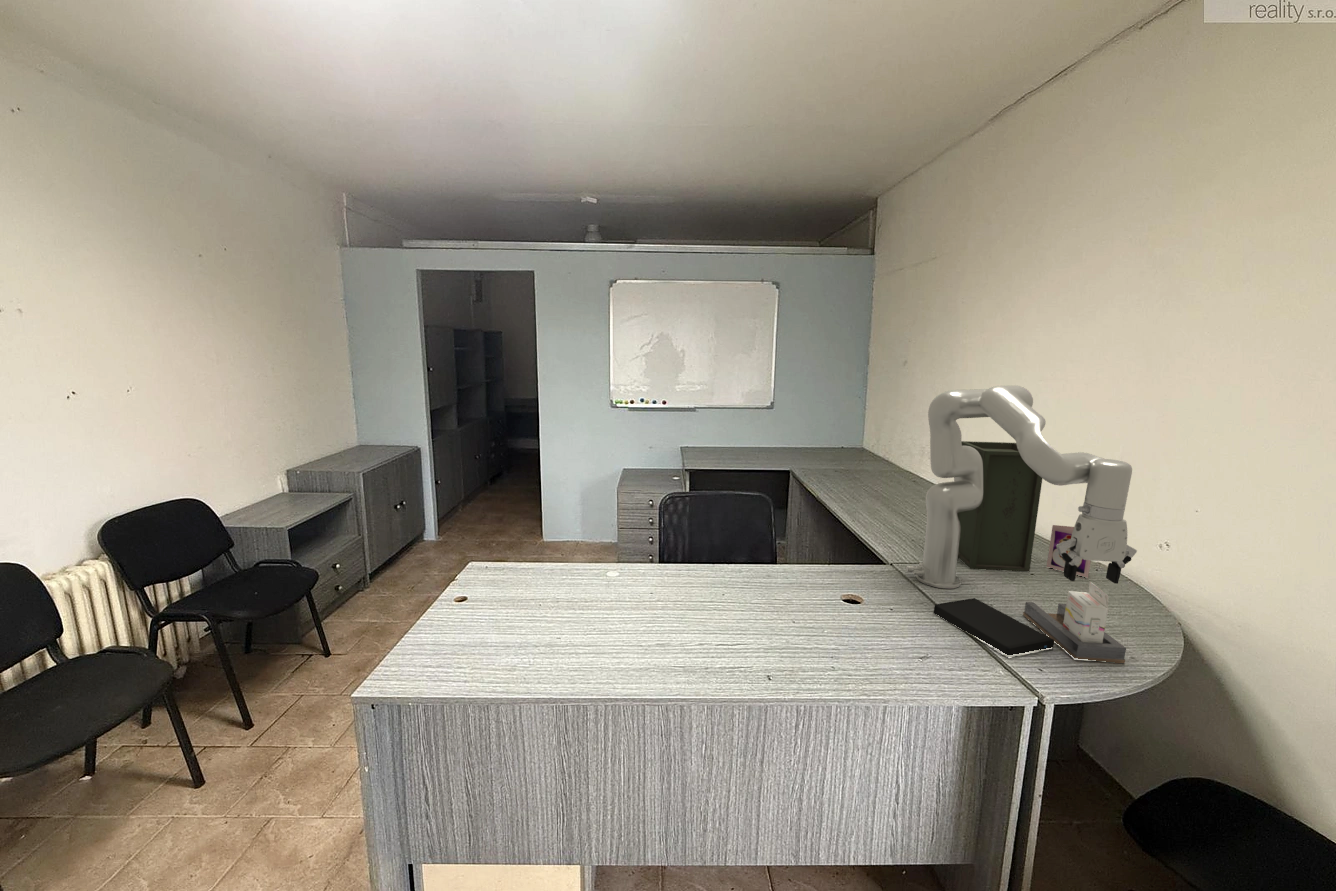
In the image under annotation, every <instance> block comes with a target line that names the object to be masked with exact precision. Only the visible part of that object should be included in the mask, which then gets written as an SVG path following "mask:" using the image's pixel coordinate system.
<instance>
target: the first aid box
mask: <svg viewBox="0 0 1336 891" xmlns="http://www.w3.org/2000/svg"><path fill="white" fill-rule="evenodd" d="M961 443H962V446H970V447H973V448H974V449H976V450H977V451H978V452H979V454H980V456H981V458H982V461H983V499H982V502H981V504H980V506H979V507H977V508H976V509H973V510H969V511H963V512H958V513H957V515H958V519H959V522H960V526H961V532H960V542H959V550H958V559H959V560H960V561H961V562H962V563H963V564H964V565H965V566H967V567H968V569H970V570H979V569H986V570H985V571H1000V570H1012V571H1011V572H1020V571H1029V572H1030V568H1031V563H1032V562H1031V561H1032V555H1033V548H1034V541H1035V534H1036V526H1037V519H1038V512H1039V506H1040V499H1041V498H1040V497H1041V492H1042V484H1043V478H1041V477H1040V476H1039V475H1038V474H1037V473H1036V472H1034V471H1033V470H1032V469H1031V468H1030V467H1029V466H1028V465H1027V464H1026V463H1025V462H1024V460H1023V459H1022V457H1021V455H1020V453H1019V451H1018V448H1017V444H1016V442H1004V441H1003V442H998V441H971V440H970V441H965V440H963V441H962V440H961Z"/></svg>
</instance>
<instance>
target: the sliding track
mask: <svg viewBox="0 0 1336 891" xmlns="http://www.w3.org/2000/svg"><path fill="white" fill-rule="evenodd" d="M1065 610H1066V603H1058V606H1057V612H1056V613H1052V612H1051V613H1048V612H1046V611H1045V610H1044V609H1042V608H1041V607H1040V606H1039V605H1037V604H1036V603H1035V602H1034V601H1033V602H1032V601H1025V605H1024V611H1023V613H1022V616H1023V615H1024V616H1025V617H1026V618H1027V619H1026V618H1025V617H1024V616H1023V617H1024V618H1025V619H1026V620H1028V619H1029V620H1030V621H1031V622H1032V623H1034V624H1035V625H1036V626H1037V627H1038V628H1039V629H1041V630H1042V631H1043V632H1044V633H1045V634H1047V635H1048V636H1049V637H1050V638H1051V639H1053V640H1054V641H1055V642H1056V643H1057V644H1059V645H1060V646H1061V647H1062V648H1064V649H1065V650H1066V651H1067V652H1068V653H1069V654H1070V655H1072V656H1073V657H1074V658H1078V659H1088V660H1096V661H1106V662H1115V663H1114V664H1120V663H1126V659H1125V657H1126V651H1127V647H1126V646H1125V645H1123V644H1122V643H1121V642H1119V641H1118V640H1116V639H1114V637H1112V636H1111V635H1109V634H1108V633H1106V632H1105V631H1104V637H1103V643H1085V642H1082V641H1081V640H1080V639H1078V638H1077V637H1076V636H1075V635H1073V634H1072V633H1071V632H1070V631H1068V630H1067V629H1066V628H1065V627H1063V622H1064V616H1065ZM1029 620H1028V621H1029ZM1030 621H1029V622H1030ZM1031 622H1030V623H1031ZM1032 623H1031V624H1032ZM1037 627H1036V628H1037ZM1038 628H1037V629H1038ZM1039 629H1038V630H1039ZM1045 634H1044V635H1045Z"/></svg>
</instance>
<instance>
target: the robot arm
mask: <svg viewBox="0 0 1336 891" xmlns="http://www.w3.org/2000/svg"><path fill="white" fill-rule="evenodd" d="M1033 405H1034V397H1033V395H1032V393H1031V392H1030V391H1029V390H1028V389H1027V388H1025V386H1021V385H996V386H991V387H989V388H981V389H953V390H948V391H944V392H941V393H939V394H938V395H936V396H935V397H934V399H933V400H932V401H931V402H930V405H929V406H928V412H927V417H928V425H929V435H930V438H929V441H930V442H929V443H930V444H929V445H930V446H929V448H930V449H929V450H930V452H929V453H930V455H929V456H930V458H929V459H930V469H931V472H932V474H933V475H934V476H936V477H937V478H940V479H951V478H953V480H954V481H953V480H952V481H945V482H940V483H936V484H933V485H932V486H930V488H928V490H927V491H926V494H925V505H926V506H925V508H926V527H925V538H924V546H923V547H924V548H923V556H922V562H918V563H919V564H918V565H917V564H916V566H915V565H906V566H905V570H906V571H905V572H906V573H912V575H915V578H916V579H917V580H918V581H919V582H921V583H923V584H924V585H927V586H930V587H934V588H938V589H947V590H948V589H950V590H951V589H956V588H959V587H960V586H961V582H962V581H961V578H959V576H957V566H958V559H959V558H958V550H959V542H960V532H961V526H960V522H959V519H958V515H957V513H958V512H963V511H969V510H973V509H976V508H977V507H979V506H980V504H981V502H982V499H983V461H982V458H981V456H980V454H979V452H978V451H977V450H976V449H974V448H973V447H970V446H962V443H961V441H962V430H961V428H960V426H959V424H958V422H957V420H959V419H975V418H976V419H977V418H980V419H981V418H990V419H991V420H993V422H995V423H996V424H997V425H998V426H999V427H1000V428H1002V430H1003V431H1004V432H1006V433H1007V434H1008V435H1009V436H1010V437H1011V439H1012V438H1013V439H1014V441H1015V443H1016V444H1017V448H1018V451H1019V453H1020V455H1021V457H1022V459H1023V460H1024V462H1025V463H1026V464H1027V465H1028V466H1029V467H1030V468H1031V469H1032V470H1033V471H1034V472H1036V473H1037V474H1038V475H1039V476H1040V477H1041V478H1042V480H1044V481H1046V482H1047V483H1049V484H1051V485H1054V486H1069V485H1077V484H1078V485H1079V484H1087V485H1086V490H1085V491H1086V492H1085V494H1084V495H1085V496H1084V500H1083V501H1084V502H1083V504H1082V505H1079V506H1078V508H1077V510H1078V512H1079V513H1080V514H1079V515H1078V517H1077V519H1076V522H1075V524H1074V526H1073V527H1074V529H1073V532H1072V536H1071V539H1070V540H1067V541H1065V542H1062V543H1059V544H1057V545H1056V547H1057V550H1058V552H1059V555H1060V556H1061V557H1062V558H1063V560H1064V561H1065V566H1064V572H1062V573H1063V577H1064V578H1066V579H1068V581H1070V582H1075V581H1076V577H1077V576H1076V572H1077V566H1076V565H1075V564H1076V563H1077V562H1078V561H1080V560H1081V559H1084V560H1091V561H1095V562H1109V563H1108V564H1107V569H1106V576H1105V579H1107V580H1108V581H1110V583H1113V584H1117V585H1118V584H1119V580H1120V577H1121V573H1122V572H1121V571H1122V569H1123V568H1125V567H1126V565H1127V564H1128V563H1130V562H1131V561H1132V558H1133V557H1134V556H1135V555H1136V554H1137V552H1138V550H1137V549H1135V548H1134V547H1132V546H1130V545H1128V522H1127V520H1126V519H1124V515H1125V511H1126V505H1127V500H1128V494H1129V491H1130V486H1131V479H1132V475H1133V467H1132V465H1131V464H1130V463H1128V462H1126V461H1123V460H1117V459H1113V458H1112V459H1111V458H1110V459H1109V458H1103V457H1100V456H1098V455H1095V454H1092V453H1088V452H1081V451H1079V452H1068V453H1060V452H1059V451H1058V450H1057V449H1055V448H1054V447H1053V446H1052V445H1051V444H1050V443H1049V442H1047V440H1046V439H1045V437H1043V434H1042V431H1043V430H1044V428H1045V426H1046V425H1047V424H1046V419H1045V417H1044V416H1043V415H1042V414H1040V413H1039V412H1038V411H1037V410H1035V409H1034V408H1033ZM1067 548H1069V549H1070V552H1069V553H1068V554H1067V552H1066V549H1067ZM1075 555H1076V556H1075ZM1074 556H1075V557H1074Z"/></svg>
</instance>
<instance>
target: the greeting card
mask: <svg viewBox="0 0 1336 891" xmlns="http://www.w3.org/2000/svg"><path fill="white" fill-rule="evenodd" d="M1051 526H1052V527H1051V534H1050V542H1049V548H1048V554H1047V561H1046V567H1050V568H1054V569H1057V570H1061V571H1064V566H1065V561H1064V560H1063V558H1062V557H1061V556H1060V555H1059V552H1058V550H1057V547H1056V545H1057V544H1059V543H1062V542H1065V541H1067V540H1070V539H1071V536H1072V532H1073V529H1074V526H1067V525H1059V524H1057V525H1056V524H1052V525H1051ZM1066 552H1067V554H1068V553H1069V552H1070V549H1069V548H1067V549H1066ZM1075 556H1076V555H1075ZM1075 556H1074V557H1075ZM1091 563H1092V562H1091V560H1084V559H1081V560H1080V561H1078V562H1077V563H1076V564H1075V565H1076V566H1077V572H1076V574H1077V575H1080V576H1084V577H1087V578H1088V579H1089V574H1090V570H1091V569H1090V568H1091Z"/></svg>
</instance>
